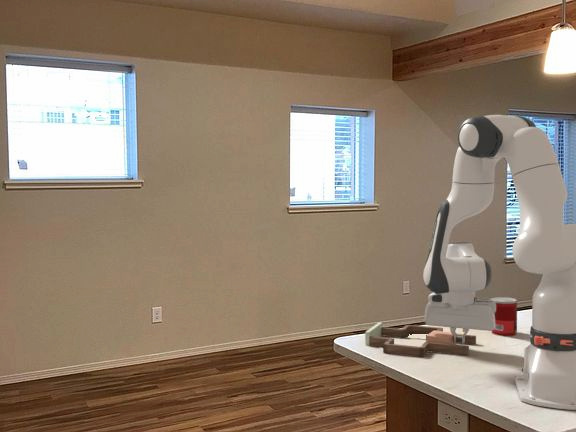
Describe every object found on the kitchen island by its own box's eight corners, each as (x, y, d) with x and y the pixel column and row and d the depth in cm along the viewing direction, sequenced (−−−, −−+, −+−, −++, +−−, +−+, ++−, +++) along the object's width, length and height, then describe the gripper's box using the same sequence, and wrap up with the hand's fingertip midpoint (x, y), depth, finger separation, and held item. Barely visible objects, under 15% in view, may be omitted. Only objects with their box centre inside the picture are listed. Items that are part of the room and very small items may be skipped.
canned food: (520, 335, 198) (520, 301, 197) (495, 336, 198) (495, 302, 197) (512, 329, 205) (512, 296, 204) (487, 330, 205) (487, 297, 205)
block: (449, 351, 183) (449, 338, 182) (426, 348, 186) (426, 335, 186) (456, 346, 189) (456, 333, 188) (434, 343, 192) (434, 330, 192)
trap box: (464, 361, 172) (464, 347, 172) (358, 349, 186) (358, 336, 185) (479, 338, 195) (479, 326, 195) (384, 330, 208) (384, 318, 208)
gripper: (497, 296, 182) (497, 343, 183) (428, 292, 192) (428, 336, 192) (494, 301, 177) (494, 348, 178) (422, 295, 186) (423, 341, 187)
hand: (459, 342), depth 185 cm, fingers closed
